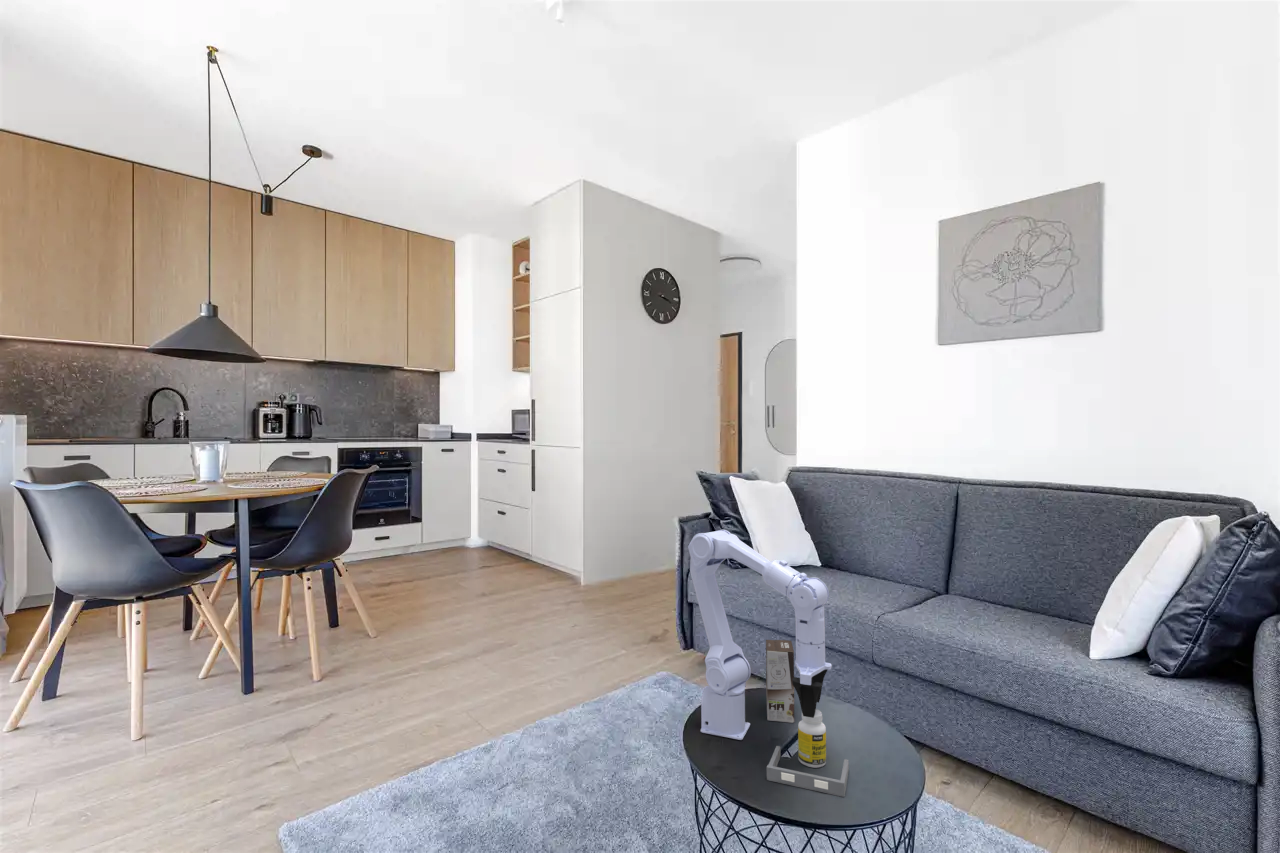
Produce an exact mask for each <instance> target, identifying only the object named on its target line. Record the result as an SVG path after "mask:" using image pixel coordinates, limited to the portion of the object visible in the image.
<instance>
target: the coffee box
mask: <svg viewBox="0 0 1280 853" xmlns="http://www.w3.org/2000/svg"><path fill="white" fill-rule="evenodd" d="M793 646H794V645H793V642H792V640H788V639H765V680H766V681H765V682H766V683H765V685H766V688H765V690H766V694H765V695H766V717H767V721H769V722H770V721H771V722H781V723H782V722H783V723H791V724H793V723H795V688H794V686H793V683H792V680H793V678H794V677H795V651H794V647H793Z"/></svg>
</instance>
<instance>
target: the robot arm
mask: <svg viewBox="0 0 1280 853" xmlns="http://www.w3.org/2000/svg"><path fill="white" fill-rule="evenodd" d="M687 548H688V549H687V550H688V553H689V557H690V560H689V561H690V562H689V573H690V575H691V576H690V577H691V580H692V584H693V588H694V592H695V596H696V600H697V603H698V607H699V612H700V615H701V618H702V619H701V620H702V624H703V626H704V630H705V634H706V638H707V641H708V646H709V650H708V652H707V653H706V656H705V658H704V662H705V663H704V664H705V668H706V670H705V680H706V683H707V685H705V686H704V688H703V690H702V693H701V701H700V704H701V705H700V706H701V708H700V709H701V715H700V716H701V718H700V719H701V721H700V722H701V728H700V733H703V734H708V735H712V736H717V737H724V738H729V739H733V740H739V741H742V740H744V738H745V736H746V734H747V733H748V730H749V729H750V727H751V723H750V722H748V721H747V722H746V693H745V692H746V689H745V688H746V686H747V685H746V684H747V682H748V680H749V679H750V678H751V674H752V669H751V665H750V663H749V661H748V660H747V658H746V657H745V654H744V653H743V649H742V647H741V646H739V645H738V644H737V643H736V642H734V639H733V636H732V633H731V629H730V626H729V625H730V624H729V620H728V618H727V613H726V611H725V606H724V602H723V600H722V595H721V592H720V589H719V585H718V581H717V577H716V572H717V571H718V569H719V567H720V565H721V564H722V563H723V562H724V561H725V560H726V559H733V560H735V561H737V562H739V563H740V564H743V565H744V566H746V567H748V568H749V569H751V570H753V571H755V572H757V573H758V574H760V575H762V580H763V583H765V585H767V586H768V587H771V588H773V589H774V590H775V591H777V592H778V593H780V594H781V595H783V596H784V597H786V598H788V599H789V602H790V603H791V605H792V607H793V609H794V617H795V619H794V620H795V659H794V667H796V670H797V671H798V673H799V677H797V676H794V678H793V680H792V683H793V686H794V690H795V691H796V693H797V696H798V700H799V705H800V709H801V715H802V714H803V716H806V717H811V718H814V715H815V712H816V709H817V704H819V703H820V701H821V696H822V689H823V686H824V685H823V684H824V679H825V676H826V674H827V672H828V671H831V670H832V667H833V665H832V663H830V662H826V628H825V626H826V625H825V618H826V617H825V606H824V605H825V604H826V603H827V602H828V600H829V598H830V592H829V588H828V586H827V585H826V583H825V581H823V580H821V579H820V578H819V577H808V574H806V573H805V572H800V571H798V570H796V569H794V568H793V567H791V566H790V565H788V564H789V562H788V561H786V560H785V559H782V560H780V559H775V560H769V559H768V558H766V556H764V555H762V554H760V552H758V551H756V550H755V549H754V548H752V547H750V546H749V545H747V544H746V543H745V542H743V541H742V540H741V539H740V538H739V537H738V536H737V535H736V534H734V533H731V532H730V531H729V530H727V529H718V530H715V531H710V532H699V533H696V534H695V535H693V537H692V539H691V541H690V542H689V544H688V545H687Z"/></svg>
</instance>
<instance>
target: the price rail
mask: <svg viewBox="0 0 1280 853" xmlns="http://www.w3.org/2000/svg"><path fill="white" fill-rule="evenodd" d="M781 752H782V751H781V746H780V745H776V746H775V749H774V751H773V753H772V756H771V758H770V760H769V762H768V764H767V766H766V781H770V782H773V783H774V782H775V783H779V784H783V785H788V786H792V787H798V788H801V789H807V790H811V791H815V792H820V793H824V794H828V795H834V796H837V797H842V798H845V796H846V789H847V783H848V778H849V772H850V763H849V762H850V761H849V759H846V758H844V759H843V764H842V770H841V775H840V779H836V778H832V777H825V776H821V775H816V774H812V773H807V772H802V771H798V770H793V769H789V768H784V767H783V768H782V767H779V766H778V764H779V761H780V759H781V755H782V754H781Z"/></svg>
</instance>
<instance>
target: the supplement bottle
mask: <svg viewBox="0 0 1280 853" xmlns="http://www.w3.org/2000/svg"><path fill="white" fill-rule="evenodd" d="M797 725H798V726H797V729H798V730H797V734H798V735H797V746H798V748H797V749H798V752H797V753H798V754H797V756H798V757H797V759H798V761H799V762H800V764H802V765H804V766H806V767H809V768H813V769H814V768H815V769H818V768H822V767H824V766H826V764H827V727H826V724H824V722H823V713H822V711H821V710H819V709H817V708H816V712H815V715H814V718H811V717H806V716H803V714H802V713H801V720H800V721H799V722H798V724H797Z"/></svg>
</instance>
